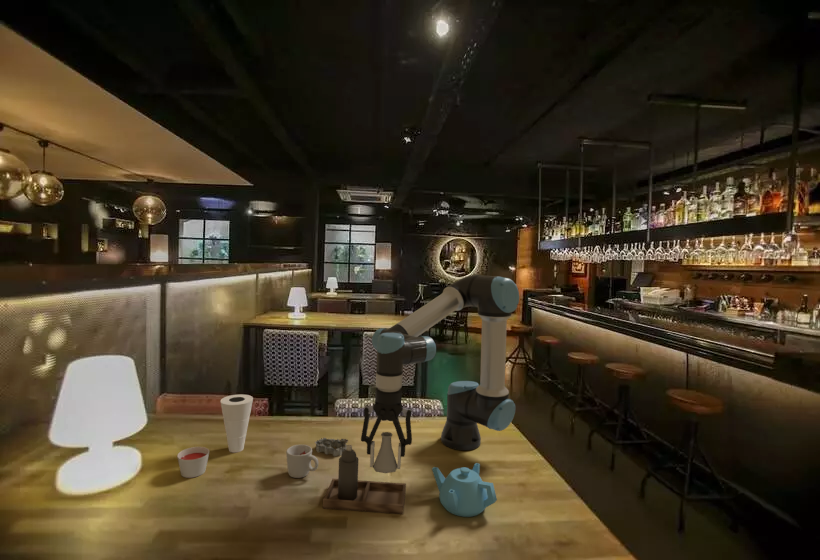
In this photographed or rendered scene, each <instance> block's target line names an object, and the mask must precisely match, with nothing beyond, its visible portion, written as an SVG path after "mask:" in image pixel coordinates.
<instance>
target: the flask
mask: <svg viewBox="0 0 820 560" xmlns="http://www.w3.org/2000/svg"><path fill="white" fill-rule="evenodd" d="M380 436H381V444H380V448H379V450H378V453H377V456H376V459H374V464H373V467H372V468H373V470H374V471H375V472H376V473H382V474H389V473H390V474H391V473H395V472H396V471H397V470H398V469H397V465H398V461H397V460H396V456H395V453H394V450H393V445H392V437H393V433H392V432H389V431H383V432H382V433H381V434H380Z"/></svg>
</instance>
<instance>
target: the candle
mask: <svg viewBox="0 0 820 560" xmlns="http://www.w3.org/2000/svg"><path fill="white" fill-rule="evenodd" d="M209 455H210V449H209V448H207V447H205V446H193V447H188V448H184V449H182V450H181V451H180V452H178V453H177V462H178V465H179V466H178V467H179V471H180V475H181V477H183V478H187V479H191V478H197V477H200V476H202V475H203V474H205V472H206V469H207V465H208V460H209Z"/></svg>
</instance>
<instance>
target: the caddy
mask: <svg viewBox="0 0 820 560" xmlns="http://www.w3.org/2000/svg"><path fill="white" fill-rule="evenodd" d="M406 490H407V483H404V482H403V483H401V482H388V481H374V480H373V481H372V480H361V479H358V488H357V498H356V499H355V500H353V501H351V500H339V499H338V478H332V479H331V481H330V483H329V486H328V489H327V491H326V492H325V495H324V497H323V499H322V509H326V510H338V511H339V510H340V511H341V510H342V511H351V512H353V511H354V512H365V513H366V512H368V513H381V514H392V515H393V514H397V515H404V509H405V508H404V507H405V500H406V492H407V491H406Z"/></svg>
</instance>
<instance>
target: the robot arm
mask: <svg viewBox="0 0 820 560" xmlns="http://www.w3.org/2000/svg"><path fill="white" fill-rule="evenodd" d="M519 303H520V292H519V288H518V286H517V284H516V283H515V282H514V280H512V279H511V278H509V277H503V276H497V275H493V276H492V275H483V274H471V275H468V276H464V277H462V278H460V279H458V280H456V281H455V282H453V283H451V284H450V285H448V286H446V287H445V288H443V290H442V293H441V294H440V295H438V296H436V297H435V298H434V299H431V301H429V302H428V303H426V304H425V305H423V306H421V307H420V308H418V309H417V310H415V311H414V312H411V314H409V315H407V316H406V317H404V318H403V319H402V320H400V321H399V322H397V323H396V324H394V325H393V326H390V327H388V328H378V329H377V330H376V331H374V332H373V334H372V336H371V337H372V338H371V344H372V346H373V348H374V349H375V350H376V372H375V387H376V388H375V389H374V390H375V391H374V393H375V395H374V403H373V405H367V404H366V405H365V406H364V408H363V414H364V417H363V418H364V419H363V425H362V430H361V435H360V436H361V437H360V442H363V443H366V455H370V456H369V457H370V459H369V468H373V465H374V463H375V443H376V441H375V440H373V439H374V438H375V435H376V433H377V431H378V429H379V426H380V424H381V422H382V421H383V422H385V421H388V422H392V423H393V426H394V429H395V431H396V434H397V435H396V436H397V437H398V441H399V442H398V446H397V447H398V448H397V451H398V452H397V470H401V465H402V464H401V463H402V458H405V456H406V447H407V446H409V445H410V446H411V445H412V443H413V436H412V425H411V423H412V421H411V416H412V412H413V411H412V410H413V409H412V408H411V407H408V408H406V407H404V406H403V404H402V398H403V397H402V394H403V390H402V388H403V374H404V366H408V365H413V364H420V363H425V362H428V361H431V360H433V359H434V357H435V355H436V353H437V345H436V343H435V341H434V339H433V338H432V337H430V336H429V335H427V336H424V335H422V334H424V333H425V332H426V331H428V330H429V329H430V328H432V327H433V326H435V325H437V323H438V324H439V322H441V321H442V320H443V319H445V318H447V316H449V315H450V314H452V313H453V312H455V311H457V312H458V311H461V310H462V309H464V308H467V307H474V308H477V316H479V318H480V319H481V338H480V339H481V343H480V344H481V345H480V347H481V348H480V383H478V382H477V381H471V380H458V381H453V382H451V383H450V384H448V387H447V394H446V395H447V397H446V398H447V399H446V421H445V424H444V426H443V428H442V431H441V435H440V441H441V443H442V444H443V445H444V446H446V447H447V448H449V449H452V450H457V451H471V450H475V449H478V448H479V447H481V444H482V443H481V442H482V441H481V440H482V437H481V433H480V430H479V426H478V424H479V425H481V426H483V427H486V428H488V429H489V430H493V431H497V432H501V431H503V430H505V429H507V428H508V427H509V426H510V425H511V423H512V421H514V420H513V419H514V417H515V413H516V403H514V401H513V399H511V398H510V390H509V389H508V387H506V385H505V384H506V358H507V355H506V354H507V324H508V322H507V321H508V320H509V319H510V318H511V317H512V313H513V312H515V311H516V310H517V308H518V306H519ZM420 335H421V336H420ZM372 412H375V414H376V416H377V418H376V420H375V422H374V424H373V427H372V429H371V430H370V432H369V433H370V434H369V435H367V433H368V429H369V424H370V423H369V422H370V417H371V414H372ZM402 413H403V417H405V430H406V431H405V432H406V438H405V434H404V432H403V428H402V425H401V423H400V420H399V416H400V414H402Z"/></svg>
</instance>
